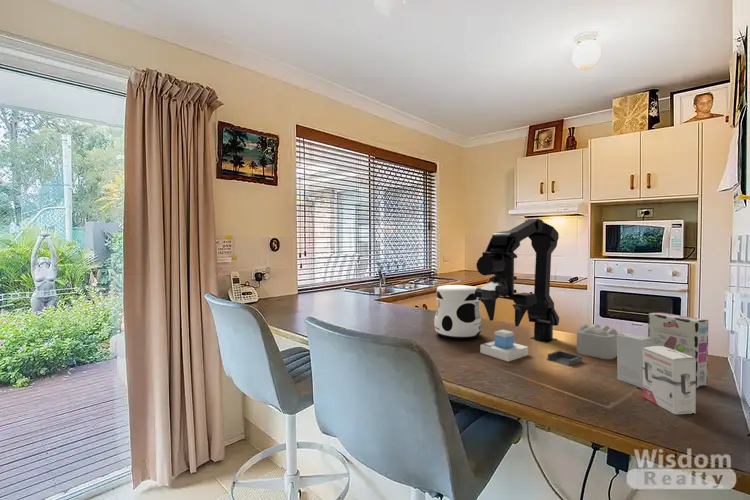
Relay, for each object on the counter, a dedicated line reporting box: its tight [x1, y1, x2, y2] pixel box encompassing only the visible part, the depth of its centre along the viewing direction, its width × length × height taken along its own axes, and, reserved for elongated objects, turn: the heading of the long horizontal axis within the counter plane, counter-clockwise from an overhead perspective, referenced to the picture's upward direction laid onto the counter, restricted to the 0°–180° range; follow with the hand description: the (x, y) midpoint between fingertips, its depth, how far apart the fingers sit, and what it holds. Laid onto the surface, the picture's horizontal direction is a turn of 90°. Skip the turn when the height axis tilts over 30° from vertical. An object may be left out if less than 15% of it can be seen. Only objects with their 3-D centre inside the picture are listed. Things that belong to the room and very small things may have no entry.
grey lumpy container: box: [576, 323, 619, 360], centre depth 113 cm, size 10×13×9 cm
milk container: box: [433, 284, 483, 340], centre depth 134 cm, size 17×17×18 cm
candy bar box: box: [647, 311, 709, 389], centre depth 92 cm, size 11×5×16 cm, turn 22°
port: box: [479, 340, 529, 362], centre depth 112 cm, size 10×10×3 cm
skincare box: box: [616, 332, 651, 390], centre depth 89 cm, size 6×4×12 cm
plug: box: [494, 329, 515, 349], centre depth 112 cm, size 4×4×7 cm
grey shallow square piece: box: [546, 350, 583, 367], centre depth 105 cm, size 7×7×2 cm
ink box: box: [642, 346, 697, 415], centre depth 78 cm, size 9×5×12 cm, turn 5°
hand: (503, 323), depth 111 cm, fingers open, 9 cm apart
